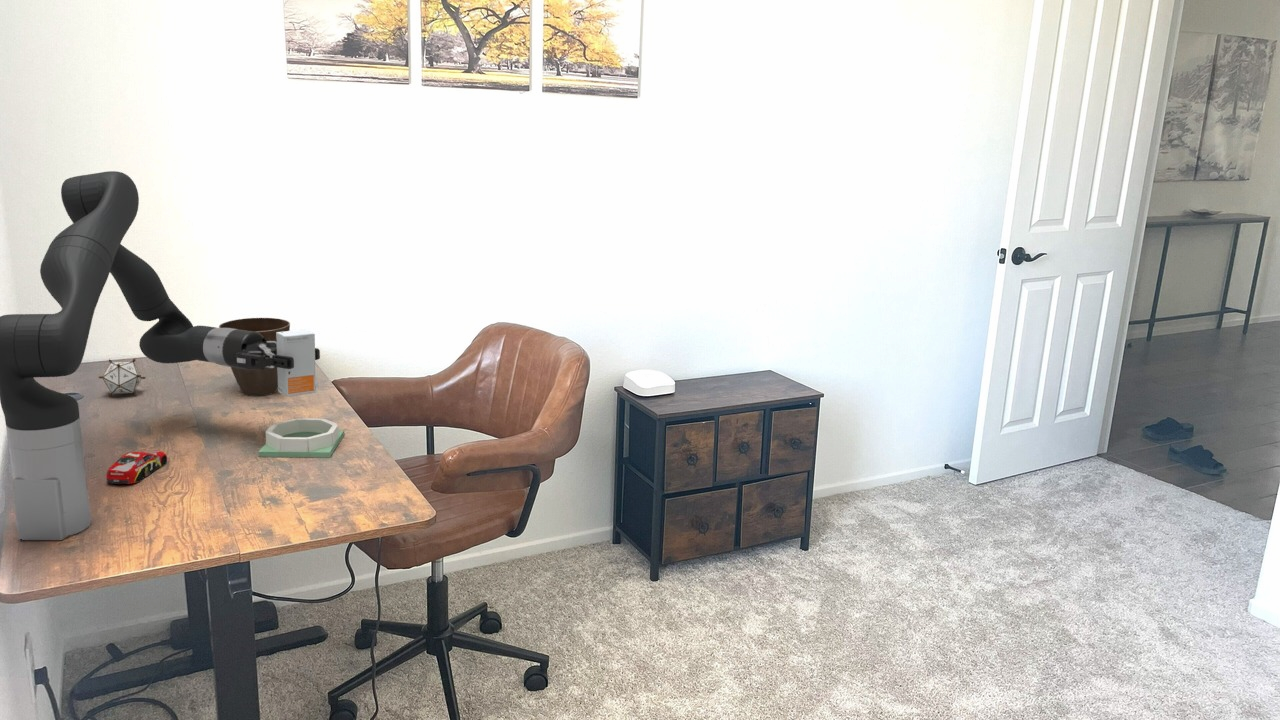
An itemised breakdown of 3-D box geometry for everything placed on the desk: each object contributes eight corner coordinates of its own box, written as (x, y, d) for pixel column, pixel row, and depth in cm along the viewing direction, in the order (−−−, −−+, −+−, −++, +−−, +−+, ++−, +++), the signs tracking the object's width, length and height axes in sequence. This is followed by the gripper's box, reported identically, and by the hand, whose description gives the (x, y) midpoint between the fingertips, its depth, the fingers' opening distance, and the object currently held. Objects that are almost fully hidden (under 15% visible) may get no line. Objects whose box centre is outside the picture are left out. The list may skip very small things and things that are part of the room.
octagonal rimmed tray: (329, 457, 173) (329, 439, 172) (258, 456, 172) (257, 439, 171) (344, 434, 186) (343, 418, 185) (278, 434, 184) (277, 417, 183)
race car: (144, 460, 168) (142, 439, 167) (173, 461, 168) (171, 441, 167) (100, 487, 156) (98, 465, 155) (131, 488, 155) (129, 466, 154)
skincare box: (285, 397, 173) (283, 336, 170) (277, 392, 176) (275, 331, 173) (317, 393, 177) (315, 333, 174) (309, 387, 180) (306, 328, 177)
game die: (128, 412, 204) (119, 386, 197) (95, 396, 205) (85, 368, 197) (157, 385, 210) (149, 358, 202) (125, 369, 211) (116, 342, 203)
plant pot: (251, 405, 201) (246, 334, 198) (209, 392, 209) (204, 324, 205) (307, 390, 214) (303, 324, 210) (266, 379, 221) (262, 314, 217)
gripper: (206, 336, 171) (280, 347, 166) (259, 322, 184) (328, 332, 180) (208, 375, 173) (281, 387, 168) (261, 358, 186) (330, 369, 181)
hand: (305, 358), depth 174 cm, fingers closed on skincare box, 7 cm apart
